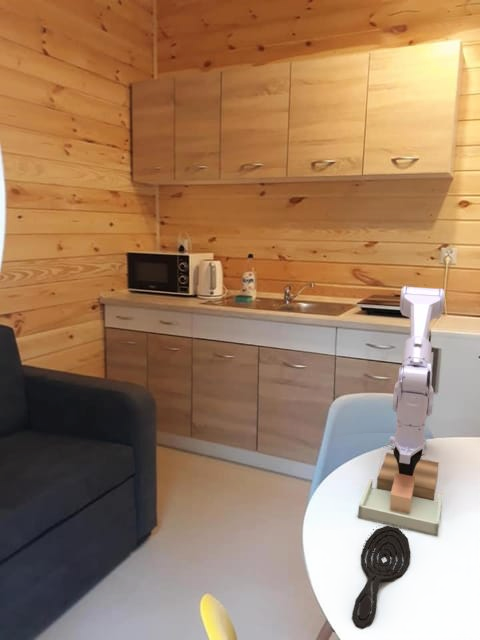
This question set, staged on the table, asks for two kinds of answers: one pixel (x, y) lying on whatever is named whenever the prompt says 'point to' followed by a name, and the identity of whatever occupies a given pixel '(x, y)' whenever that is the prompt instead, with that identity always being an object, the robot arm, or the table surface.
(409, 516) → the tray
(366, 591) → the hairbrush
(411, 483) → the tile rear
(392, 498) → the tile front
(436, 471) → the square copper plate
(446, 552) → the table surface
